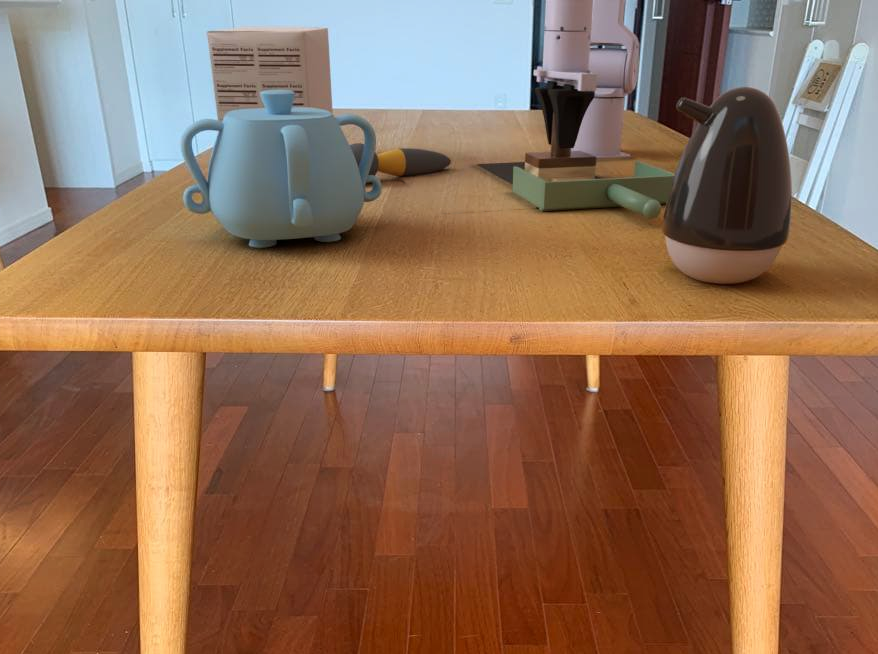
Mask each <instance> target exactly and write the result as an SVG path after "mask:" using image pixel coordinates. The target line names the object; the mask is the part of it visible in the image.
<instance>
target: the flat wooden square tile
mask: <svg viewBox="0 0 878 654" xmlns="http://www.w3.org/2000/svg"><path fill="white" fill-rule="evenodd" d="M569 180H588V179H587V178H585V177H566V178H551V181H569Z"/></svg>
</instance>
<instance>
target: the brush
mask: <svg viewBox="0 0 878 654" xmlns="http://www.w3.org/2000/svg"><path fill="white" fill-rule="evenodd" d="M524 156H525V157H524V162H525V171H527V172H529V173H531V174H533V175H535V176H537V177H539V178H541V179H543V180H545V181H547V182H549V181H551V178H566V177H585V178H587V179H595V176H596V167H597V159H596V156H593V155H590V154H588V153H585V152H582V151H571V148H562V149H560V148H557V143H556V131H555V116H554V112H553V121H552V139H551V145H550V151H539V152H525V154H524Z"/></svg>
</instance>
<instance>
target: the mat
mask: <svg viewBox="0 0 878 654" xmlns="http://www.w3.org/2000/svg"><path fill="white" fill-rule="evenodd" d="M476 166H478V167H480V168H481V169H484V170H485V171H487V172H489V173H491V174H492V175H494V176H496V177H497V178H499V179H501V180H503V181H505V182H506V183H509V184H510V185H512V186H513V167H516V166H517V167H519V168H521V169H523V170H525V161H516V162H495V163H493V162H492V163H476ZM595 179H602V178H601V177H599V176H597V175H595Z"/></svg>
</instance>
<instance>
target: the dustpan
mask: <svg viewBox="0 0 878 654" xmlns="http://www.w3.org/2000/svg"><path fill="white" fill-rule="evenodd" d="M634 163H635V164H634V173H633V176H631V177H630V176H629V177H613V178H611V177H610V178H601V179H588V180H569V181H549V182H547V181H545V180H543V179H541V178H539V177H537V176H535V175H533V174H531V173H529V172H527V171H525V170H523V169H521V168H519V167H517V166H516V167H513V185H512V193H513V194H515V195H517V196H519V197H521V198H522V199H524V200H525V201H527V202H529V203H531V204H533V206H536V207H535V208H536V209H537V210H539V211H541V212H552V211H554V212H555V211H568V210H569V211H571V210H585V209H586V210H587V209H601V208H602V209H603V208H604V209H605V208H618V207H619V208H620V207H622V208H625V209H627V210H629V211H631V212H633V213H635V214H638V215H640V216H642V217H644V218H646V219H649V220H653V219H656V218H658V217H659V216H660V214H661V212H662V205H666V203H667V199H668V196H669V192H670V188H671V185H672V182H673V178H674V175H675V173H676V172H675V173H674V172H672V171H668V170H666V169H663V168H661V167H657V166H655V165H652V164H649V163H646V162H643V161H641V160H635V162H634Z"/></svg>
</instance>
